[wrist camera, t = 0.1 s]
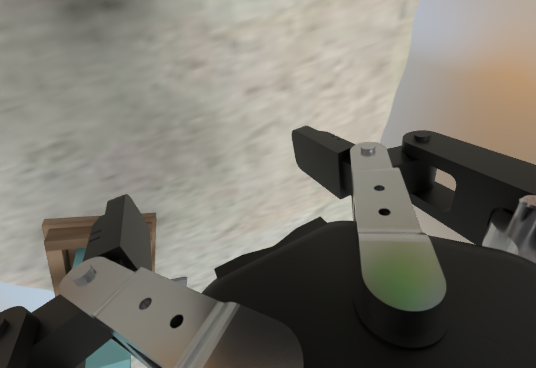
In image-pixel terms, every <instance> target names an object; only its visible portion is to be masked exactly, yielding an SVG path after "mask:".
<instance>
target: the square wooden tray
mask: <svg viewBox="0 0 536 368" xmlns="http://www.w3.org/2000/svg"><path fill="white" fill-rule="evenodd" d="M141 215H142V216H143V218H144V219H145V221H146V223H147V225H148V227H149V230H150V238H151V258H152V272H154V265H155V238H156V213H147V214H141ZM99 217H100V216H95V217H77V218H60V219H45V220H44V222H43V224H42V228H43V233H44V238H45V241H44V245H45V250H46V254H47V259H48V264H49V269H50V273H51V278H52V283H53V288H54V293H55V297H56V296H58V295H59V294H60V293H59V291H58V290H59V285H60V283H61V281H62V280H63V278H64V277H65V276H66V275H67V274H68V273H69V272H70V271H71V270H72V267H73V263H74V259H75V255H76V251H77V248H86V247H87V243H89V242H88V240H89V236H90V232H91V229H92V226H93V224H94V223H95V222H96V221H97V219H98V218H99Z"/></svg>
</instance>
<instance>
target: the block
mask: <svg viewBox="0 0 536 368" xmlns="http://www.w3.org/2000/svg"><path fill="white" fill-rule="evenodd" d="M85 251H86V248H77V251H76V255H75V259H74V263H73V267H72V269H73V268H74V267H76V266H77V265H79V264H80V263H82V262H83V258H84V254H85ZM85 368H131V354H129V353H128V352H127V351H125V350H124V349H123V348H122V347H120V346H119V345H118V344H116V343H115V342H114V341H112V340H111V339H110V340H109V341H108V342H106V343H105V344H104V345H103V346H101V347H100V348H99V349H98V350H97V351H95V352H94V353H93V354H92V355H90V356H89V357H88V358H87V359H86V364H85Z"/></svg>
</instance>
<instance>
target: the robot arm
mask: <svg viewBox="0 0 536 368" xmlns="http://www.w3.org/2000/svg"><path fill="white" fill-rule="evenodd" d="M292 141H293V147H294V153H295V158H296V162H297V164H298V166H299V168H300V169H301V170H302V171H304V172H305V173H306V174H308V175H309V176H310V177H312V178H313V179H314V180H316V181H317V182H318V183H319V184H321V185H322V186H323V187H325V188H326V189H327V190H329V191H330V192H331V193H333V194H334V195H335V196H337V197H338V198H339V199H343V198H345V197H347V196H349V195H351V196H352V212H353V221H334V222H329V223H327V222H326V221H325V220H323V219H322V218H321V217H318V218H316V219H314V220H312V221H310V222H308V223H306V224H304V225H302V226H300V227H298V228H296V229H295V230H294V231H292V232H291V233H290V234H289V235H287V236H286V237H285V238H284V239H282V240H281V241H280V242H279V243H277V244H276V245H275V246H273V247H270V248H266V249H262V250H259V251H255V252H251V253H248V254H244V255H241V256H239V257H237V258H235V259H233V260H231V261H229V262H227V263H225V264H223V265H221V266H219V267H217V268H215V269H214V270H215V273H216V276H217V279H215V280H214V281H213V282H212V283H211V284H210V285H209V286H208V287H207V288H206V289H205V290H204V291H203V292H202V293H199V292H197V291H195V290H193V289H190V288H188V287H186V286H184V285H181V284H179V283H177V282H175V281H172V280H170V279H168V278H166V277H164V276H161V275H159V274H157V273H155V272H152V258H151V238H150V230H149V227H148V225H147V223H146V221H145V219H144V218H143V216H142V215H141V213H140V212H139V210H138V208H137V207H136V205H135V204H134V202H133V200H132V199H131V197H130V196H129V195H128V194H125V195H123V196H120V197H117V198H115V199H112V200H109V201H108V202H107V207H106V212H105V215H102V216H100V217H99V218H98V219H97V221H96V222H95V223H94V224H93V226H92V229H91V232H90V236H89V240H88V242H89V243H87V247H86V251H85V254H84V258H83V262H82V263H80V264H79V265H77V266H76V267H74V268H73V269H72V270H71V271H70V272H69V273H68V274H67V275H66V276H65V277H64V278H63V280H62V281H61V283H60V285H59V290H58V291H59V293H60V294H59V295H58V296H56V297H55V298H53V299H52V300H50V301H49V302H47V303H46V304H44V305H43V306H41V307H40V308H38V309H37V310H35V311H33V312H32V313H31V312H29V311H28V310H27V309H25V308H24V307H22V306H16V307H12V308H9V309H7V310H4V311H3V312H0V368H85V364H86V359H87V358H88V357H89V356H90V355H92V354H93V353H94V352H95V351H97V350H98V349H99V348H100V347H101V346H103V345H104V344H105V343H106V342H108V341H109V340H110V339H111V340H112V341H114V342H115V343H116V344H118V345H119V346H120V347H122V348H123V349H124V350H125V351H127V352H128V353H129V354H131V355H132V356H133V357H135V358H136V359H137V360H139V361H140V362H141V363H143V364H144V365H145V366H147V367H148V368H536V165H534V164H531V163H528V162H525V161H522V160H519V159H516V158H513V157H510V156H507V155H504V154H501V153H497V152H494V151H491V150H488V149H485V148H482V147H479V146H475V145H473V144H470V143H467V142H463V141H460V140H457V139H454V138H451V137H448V136H445V135H442V134H439V133H436V132H432V131H413V132H409V133H407V134H405V135H404V136H403V141H402V146H398V147H394V148H389V149H387V148H386V147H385V146H384V145H383V144H380V143H376V142H363V143H359V144H356V145H355V144H353V143H351V142H349V141H347V140H344V139H342V138H340V137H338V136H335V135H333V134H331V133H329V132H324V131H318V130H315V129H313V128H311V127H309V126H303V127H301V128H298V129H296V130H293V131H292ZM437 169H440V170H442V171H444V172H446V173H448V174H450V175H452V176H453V178H454V179H455V181H456V190H455V191H453V190H451V189H449V188H447V187H445V186H443V185H441V184H439V183H437V182H435V176H436V171H437ZM412 204H413V205H415V206H416V207H418V208H420V209H421V210H422V211H424V212H426V213H427V214H429V215H430V216H432V217H433V218H435V219H437V220H438V221H440V222H441V223H443V224H444V225H446V226H447V227H449V228H451V229H452V230H454V231H455V232H457V233H458V234H460V235H462V236H463V237H465V238H466V239H468V240H469V241H471V242H473V243H474V244H470V243H464V242H459V241H454V240H449V239H444V238H439V237H434V236H429V235H427V234H425V233H423V232H422V230H421V228H420V225H419V222H418V219H417V217H416V214H415V211H414V209H413V206H412ZM475 244H476V245H475Z"/></svg>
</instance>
